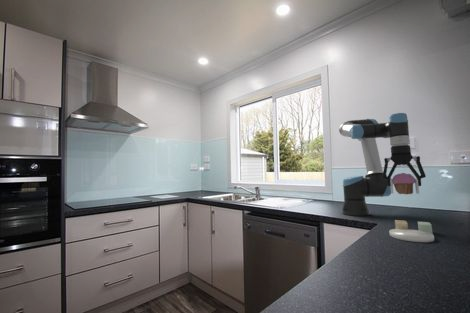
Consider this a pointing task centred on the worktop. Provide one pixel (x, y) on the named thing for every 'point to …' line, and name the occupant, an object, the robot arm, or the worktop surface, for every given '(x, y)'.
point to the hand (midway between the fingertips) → (404, 193)
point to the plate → (411, 235)
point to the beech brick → (401, 224)
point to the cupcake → (403, 183)
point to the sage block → (425, 227)
